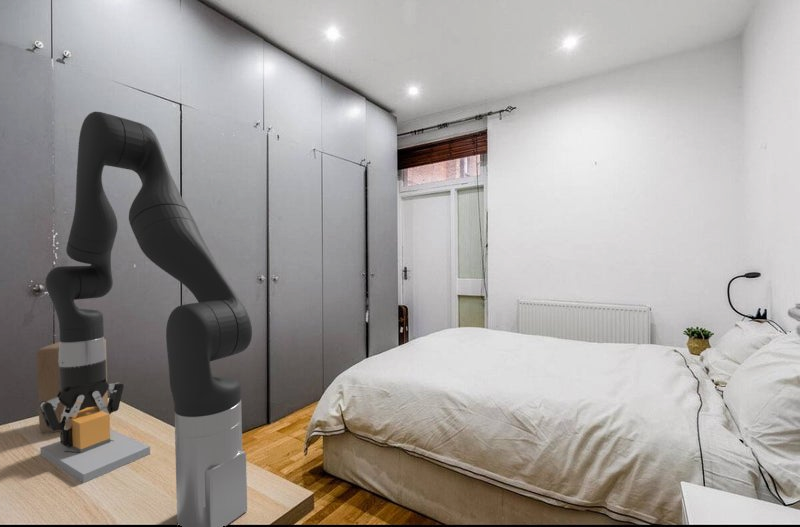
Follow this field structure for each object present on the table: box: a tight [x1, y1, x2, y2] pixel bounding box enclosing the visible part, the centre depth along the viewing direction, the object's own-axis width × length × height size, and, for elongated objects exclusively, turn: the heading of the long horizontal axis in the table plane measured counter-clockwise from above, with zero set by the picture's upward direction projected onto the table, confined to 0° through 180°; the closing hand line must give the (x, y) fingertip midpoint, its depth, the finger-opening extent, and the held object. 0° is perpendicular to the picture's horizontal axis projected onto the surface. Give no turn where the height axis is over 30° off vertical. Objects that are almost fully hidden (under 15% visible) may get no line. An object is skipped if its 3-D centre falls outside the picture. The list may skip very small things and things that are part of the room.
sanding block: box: [61, 407, 111, 453], centre depth 77 cm, size 9×5×6 cm, turn 61°
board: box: [39, 428, 151, 484], centre depth 75 cm, size 20×11×2 cm, turn 61°
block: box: [36, 338, 109, 434], centre depth 90 cm, size 10×10×20 cm
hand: (85, 439), depth 78 cm, fingers closed on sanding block, 5 cm apart
